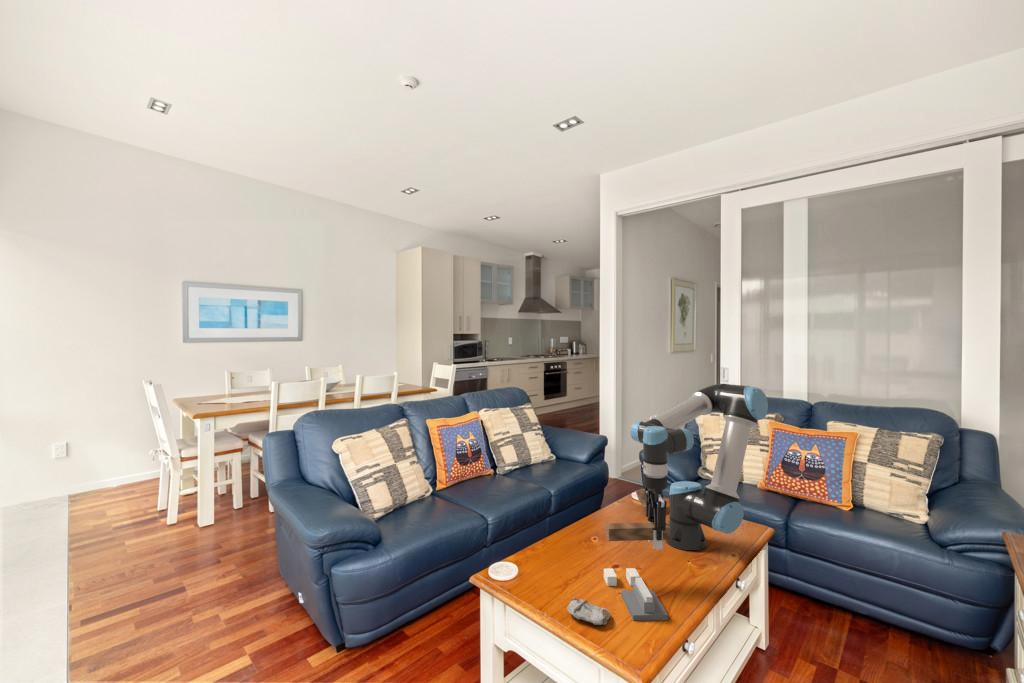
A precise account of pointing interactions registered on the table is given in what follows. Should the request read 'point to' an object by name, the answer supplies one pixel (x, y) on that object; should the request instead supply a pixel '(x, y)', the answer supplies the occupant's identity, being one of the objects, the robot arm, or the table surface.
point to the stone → (588, 612)
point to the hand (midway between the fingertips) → (655, 545)
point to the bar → (633, 531)
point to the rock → (641, 496)
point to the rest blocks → (612, 578)
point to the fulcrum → (643, 603)
